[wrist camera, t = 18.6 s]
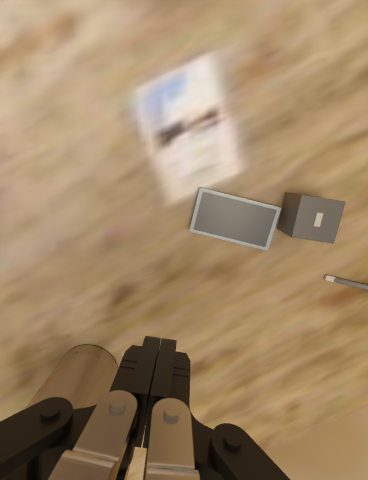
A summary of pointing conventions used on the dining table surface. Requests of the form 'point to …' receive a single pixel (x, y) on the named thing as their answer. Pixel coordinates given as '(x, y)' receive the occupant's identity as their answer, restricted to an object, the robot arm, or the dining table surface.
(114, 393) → the robot arm
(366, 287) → the cable
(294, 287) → the dining table surface
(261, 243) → the phone
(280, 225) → the charger
